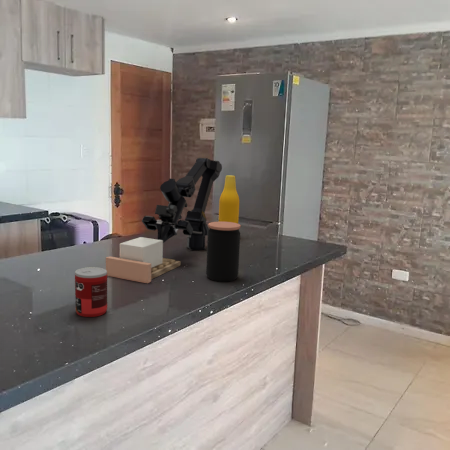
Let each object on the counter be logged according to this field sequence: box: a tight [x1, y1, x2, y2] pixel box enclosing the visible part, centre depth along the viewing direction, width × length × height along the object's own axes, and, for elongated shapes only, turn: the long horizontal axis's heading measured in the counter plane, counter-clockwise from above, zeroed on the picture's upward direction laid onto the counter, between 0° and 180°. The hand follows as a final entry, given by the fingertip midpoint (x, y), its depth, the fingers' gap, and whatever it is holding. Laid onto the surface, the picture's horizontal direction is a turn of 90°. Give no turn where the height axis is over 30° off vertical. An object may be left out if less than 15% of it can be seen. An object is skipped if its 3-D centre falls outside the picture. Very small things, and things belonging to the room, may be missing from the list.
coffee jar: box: [205, 221, 242, 283], centre depth 153 cm, size 11×11×18 cm
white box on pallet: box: [119, 236, 164, 268], centre depth 154 cm, size 12×9×8 cm
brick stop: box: [105, 256, 152, 284], centre depth 148 cm, size 2×16×6 cm, turn 66°
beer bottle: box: [218, 175, 240, 224], centre depth 211 cm, size 9×9×29 cm
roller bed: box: [151, 257, 182, 280], centre depth 159 cm, size 21×14×2 cm, turn 156°
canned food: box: [74, 266, 108, 318], centre depth 119 cm, size 8×8×11 cm
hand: (158, 244), depth 164 cm, fingers closed
